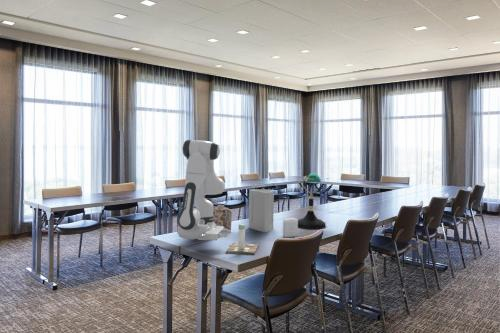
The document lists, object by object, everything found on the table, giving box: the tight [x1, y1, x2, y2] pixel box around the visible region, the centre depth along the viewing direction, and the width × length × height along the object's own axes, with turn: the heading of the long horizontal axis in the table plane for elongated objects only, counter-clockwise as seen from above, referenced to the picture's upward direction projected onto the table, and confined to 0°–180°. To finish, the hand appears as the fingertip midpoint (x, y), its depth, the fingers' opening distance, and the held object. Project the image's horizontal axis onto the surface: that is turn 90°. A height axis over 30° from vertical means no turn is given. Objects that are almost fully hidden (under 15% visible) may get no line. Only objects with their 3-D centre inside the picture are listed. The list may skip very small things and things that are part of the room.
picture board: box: [225, 242, 260, 256], centre depth 224 cm, size 18×16×1 cm
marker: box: [238, 223, 246, 250], centre depth 219 cm, size 4×4×14 cm
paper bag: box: [248, 188, 275, 233], centre depth 281 cm, size 19×15×28 cm
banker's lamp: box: [297, 172, 327, 230], centre depth 292 cm, size 26×23×40 cm
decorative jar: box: [213, 204, 233, 231], centre depth 272 cm, size 12×12×18 cm
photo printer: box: [282, 217, 299, 238], centre depth 258 cm, size 10×4×12 cm, turn 113°
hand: (228, 233), depth 221 cm, fingers open, 8 cm apart
